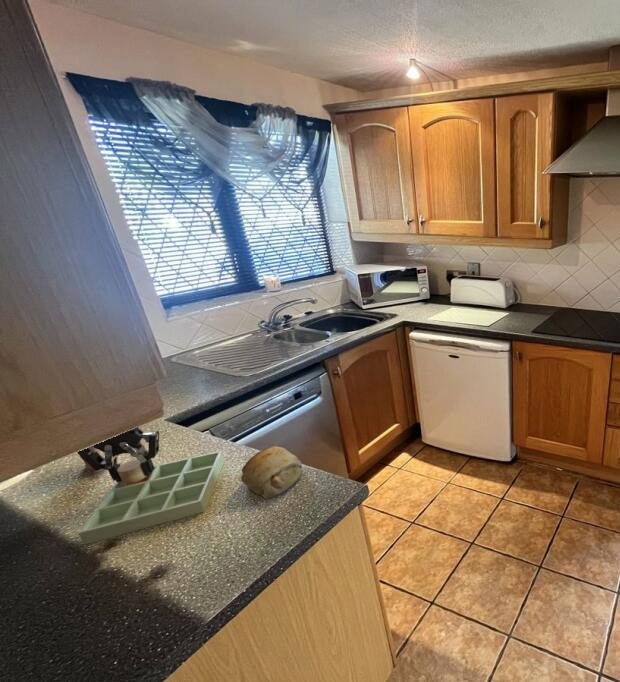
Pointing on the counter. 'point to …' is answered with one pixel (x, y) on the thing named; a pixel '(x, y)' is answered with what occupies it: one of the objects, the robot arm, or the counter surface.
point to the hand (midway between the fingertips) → (135, 476)
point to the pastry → (271, 471)
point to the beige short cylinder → (131, 472)
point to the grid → (155, 497)
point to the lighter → (90, 469)
